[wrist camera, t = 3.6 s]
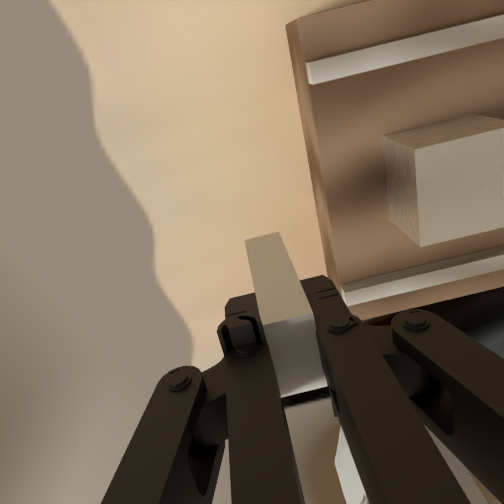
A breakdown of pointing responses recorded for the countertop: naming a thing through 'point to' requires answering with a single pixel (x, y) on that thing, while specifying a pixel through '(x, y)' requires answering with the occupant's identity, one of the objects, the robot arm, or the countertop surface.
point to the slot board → (388, 122)
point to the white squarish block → (446, 178)
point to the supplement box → (354, 487)
